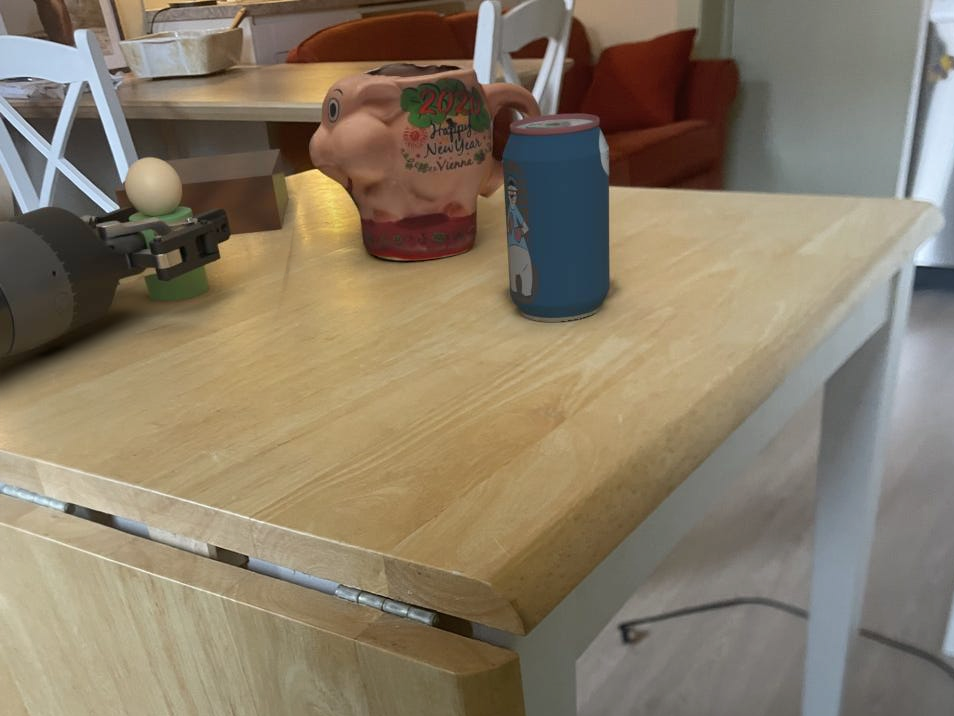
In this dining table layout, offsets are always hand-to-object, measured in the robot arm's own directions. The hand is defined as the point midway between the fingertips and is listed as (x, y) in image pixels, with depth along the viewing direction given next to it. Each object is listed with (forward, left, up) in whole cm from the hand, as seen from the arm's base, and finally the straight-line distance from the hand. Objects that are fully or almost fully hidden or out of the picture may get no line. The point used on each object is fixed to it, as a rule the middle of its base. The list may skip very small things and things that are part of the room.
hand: (178, 221), depth 77 cm
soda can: (+27, -13, -6) cm, 30 cm away
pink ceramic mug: (+20, +9, -6) cm, 23 cm away
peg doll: (-1, -2, -6) cm, 6 cm away
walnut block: (-1, +23, -6) cm, 24 cm away
